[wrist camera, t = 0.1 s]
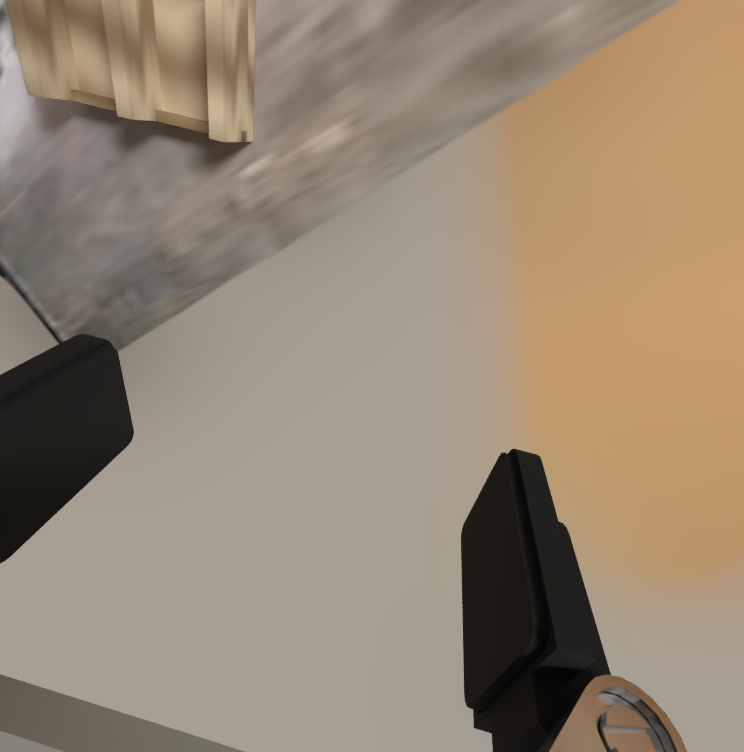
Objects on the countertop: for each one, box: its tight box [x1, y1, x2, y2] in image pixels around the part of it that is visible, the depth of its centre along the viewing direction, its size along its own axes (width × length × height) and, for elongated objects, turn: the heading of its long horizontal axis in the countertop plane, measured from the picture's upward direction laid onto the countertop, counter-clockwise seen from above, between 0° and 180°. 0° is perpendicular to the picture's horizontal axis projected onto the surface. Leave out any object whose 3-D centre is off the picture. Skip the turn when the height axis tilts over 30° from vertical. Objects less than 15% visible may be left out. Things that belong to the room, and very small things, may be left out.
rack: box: [5, 0, 256, 142], centre depth 30 cm, size 10×17×5 cm, turn 79°
